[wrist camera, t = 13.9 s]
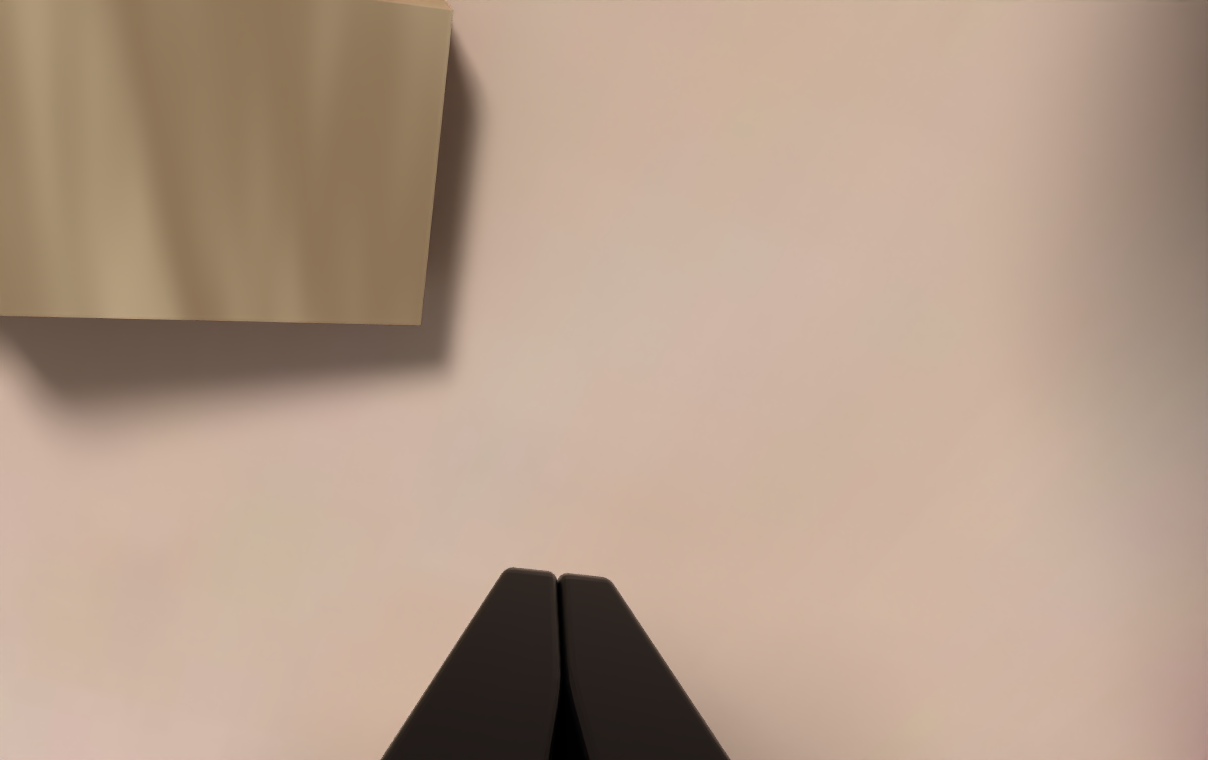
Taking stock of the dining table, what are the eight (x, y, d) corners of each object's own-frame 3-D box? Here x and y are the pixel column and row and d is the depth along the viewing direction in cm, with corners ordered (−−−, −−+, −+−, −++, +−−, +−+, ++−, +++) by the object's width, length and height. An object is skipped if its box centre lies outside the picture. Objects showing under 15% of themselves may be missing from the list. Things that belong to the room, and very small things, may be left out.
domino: (453, 11, 14) (-245, -81, 11) (420, 325, 17) (-163, 311, 14) (435, -12, 16) (-195, -99, 13) (408, 282, 18) (-128, 262, 15)
